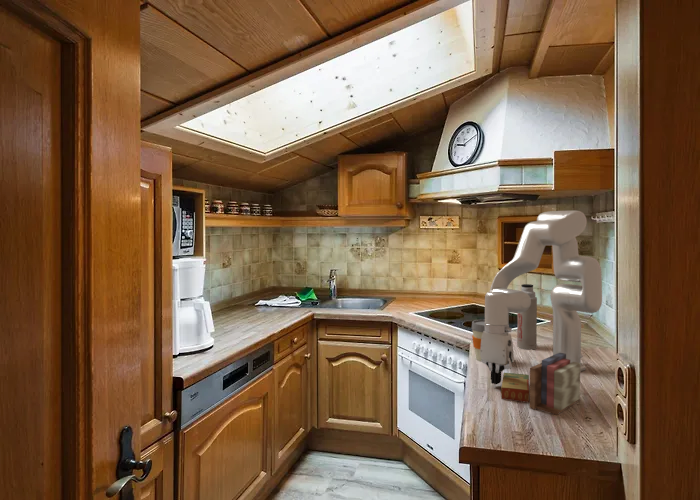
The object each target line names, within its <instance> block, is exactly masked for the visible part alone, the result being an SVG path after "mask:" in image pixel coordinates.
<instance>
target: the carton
mask: <svg viewBox="0 0 700 500" xmlns="http://www.w3.org/2000/svg"><path fill="white" fill-rule="evenodd" d="M501 382H502V383H501V388H500V397H501V399H502V400H510V401H517V402H523V401H525V402H524V403H530V374H526V373H525V374H524V373H515V372H514V373H512V372H503V374H502V380H501Z"/></svg>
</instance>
